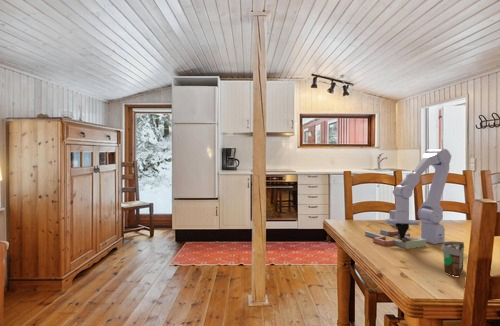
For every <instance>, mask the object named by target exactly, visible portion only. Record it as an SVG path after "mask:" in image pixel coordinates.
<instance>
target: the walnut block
mask: <svg viewBox="0 0 500 326" xmlns="http://www.w3.org/2000/svg"><path fill="white" fill-rule="evenodd" d="M412 240H418V239H417V238H415V237H412V238H411V236H410V237H406V238H402V240H401V242H405V243H406V241H412Z"/></svg>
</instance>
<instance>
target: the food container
mask: <svg viewBox="0 0 500 326" xmlns="http://www.w3.org/2000/svg"><path fill="white" fill-rule="evenodd" d="M464 249H465V241H464V242H463V241H455V240H453V241H446V242H444V243H442V245H441V248H440V250H441V251H442V253H443V265H444V267H443V268H444V273H445V272H446V273H448V274H450V275H454V276H459V277H460V278H461V276H460V274H461V272H462V270H463V271H464V256H465V253H464ZM446 273H445V274H446ZM462 273H463V272H462ZM448 274H447V275H448ZM450 275H449V276H450ZM461 275H462V274H461Z"/></svg>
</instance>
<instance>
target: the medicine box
mask: <svg viewBox="0 0 500 326" xmlns="http://www.w3.org/2000/svg"><path fill="white" fill-rule="evenodd" d="M389 219H396V209H393V210H392V209H390V210H389ZM389 226H391V227H396V224H389Z"/></svg>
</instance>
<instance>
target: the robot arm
mask: <svg viewBox="0 0 500 326" xmlns="http://www.w3.org/2000/svg"><path fill="white" fill-rule="evenodd" d="M451 160H452V154H451V153H450V151H449V150H448V149H446V148H440V149H439V148H437V149H435V148H434V149H432V148H428V149H426V150H425V152H424V153H423V155H422V158H421V161H419V163H418V165H417V166H416V167H415V168H414V170H413V172H409V173H407V174H406V175H405V177H404V179H403V180H402V181H401V182H400V183H399V184H398V185H396V186H394V189H393V190H392V194H393V196H394V200H395V210H396V219H390V218H386V219H385V220H384V223H385V224H386V225H390V224H396V226H395V227H396V229H397V230H398V232H399V235H400V239H399V241H402V238H404V237H405V234H406V233H408V230H409V228H410V226H419V227H421V228H420V230H421V231H420V237H417V238H416V239H426V243H429V244H431V245H432V244H433V245H436V244H437V245H438V244H443V243H444V242H447V241H445V234H446V233H445V226H444V225H442V224H440V223H441V221H442V220H443V217H444V215H443V210H444V209H443V207H442V205H440V203H441V200H442V197H443V193H444V189H445V187H446V182H447V178H448V176H449V173H450V172H449V171H450V163H451ZM430 166H432V167H433V168H434V174H433V177H432V181H431V185H430V188H429V191H428V195H427V198H426V200H425V201H424V202H422V203H421V206H420V207H419V209H418V210H417V217H418V218H419V220H420V221H419V220H415V219H414V220H413V219H410V198H411V197H412V196H413V193H414V192H413V191H414V189H415V187H416V186H417V185H418V184H419V182H420V181H421V176H422V175H423V174H424V173H425V171H426V170H427V169H428V168H429V167H430ZM409 225H410V226H409Z"/></svg>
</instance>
